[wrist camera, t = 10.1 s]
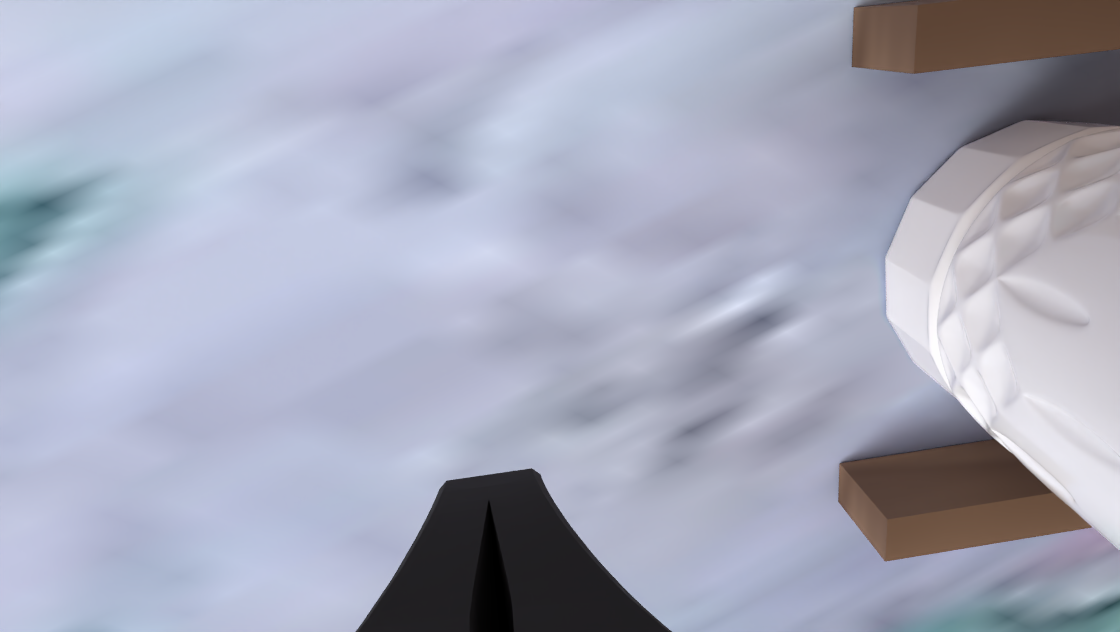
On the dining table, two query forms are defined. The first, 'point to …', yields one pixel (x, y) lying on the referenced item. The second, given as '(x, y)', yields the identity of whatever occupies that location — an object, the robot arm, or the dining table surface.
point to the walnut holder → (987, 467)
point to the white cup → (1024, 300)
